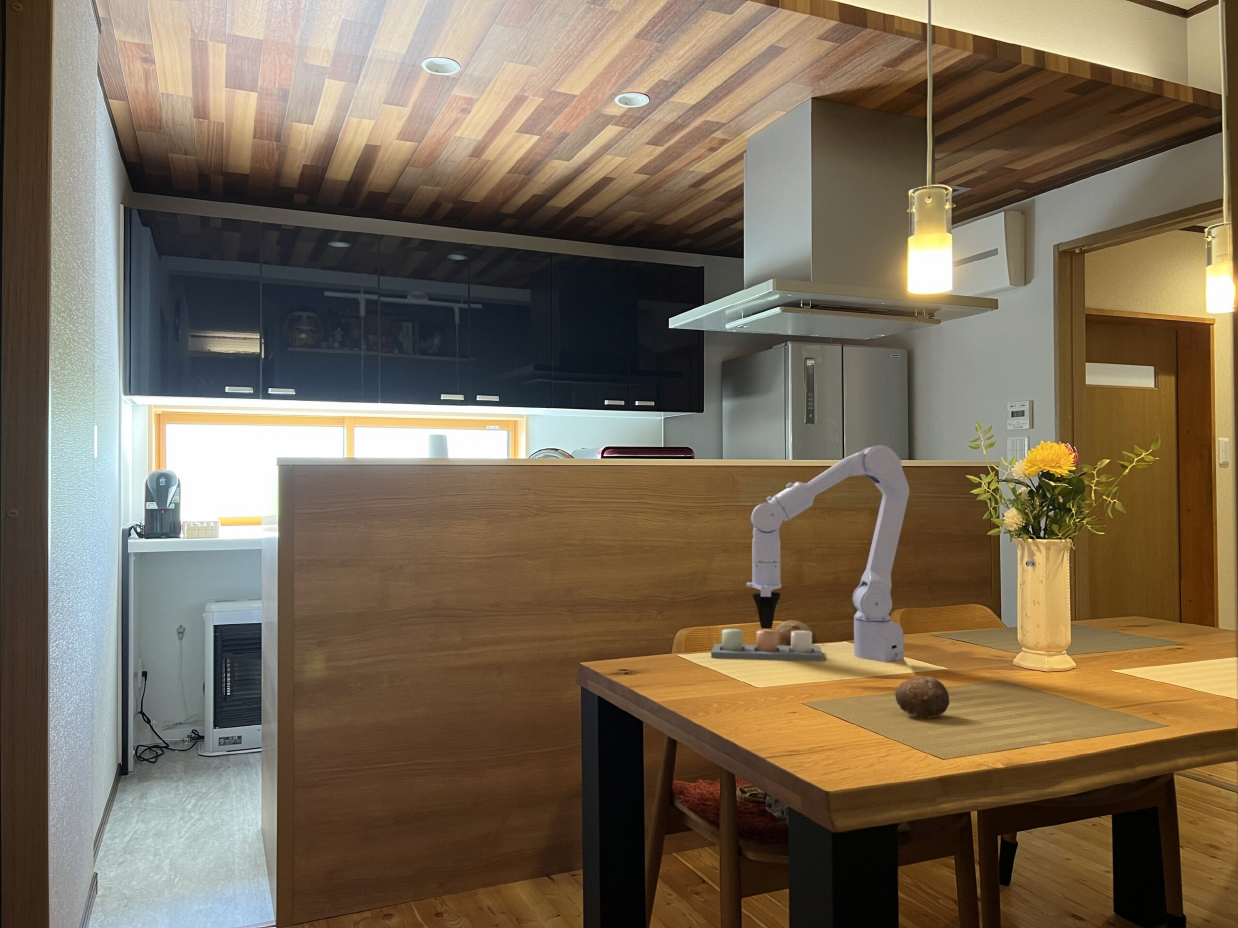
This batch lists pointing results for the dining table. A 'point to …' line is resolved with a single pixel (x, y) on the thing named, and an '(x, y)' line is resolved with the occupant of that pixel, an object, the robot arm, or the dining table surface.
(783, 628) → the bread roll
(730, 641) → the button sage
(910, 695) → the brown rough oval lump
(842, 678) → the dining table surface
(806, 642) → the button ivory
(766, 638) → the button terracotta
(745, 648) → the grey rectangular tray
